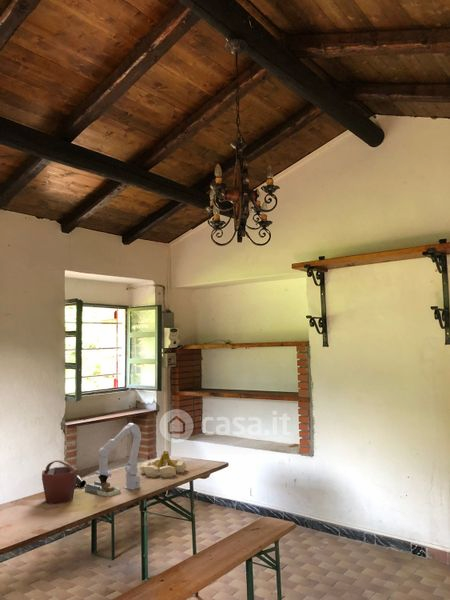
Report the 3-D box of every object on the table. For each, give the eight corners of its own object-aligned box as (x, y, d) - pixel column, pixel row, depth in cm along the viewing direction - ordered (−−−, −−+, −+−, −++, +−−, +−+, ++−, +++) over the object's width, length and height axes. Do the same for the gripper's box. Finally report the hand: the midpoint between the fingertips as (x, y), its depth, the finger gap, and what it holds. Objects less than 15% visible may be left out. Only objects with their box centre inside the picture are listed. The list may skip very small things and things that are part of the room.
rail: (109, 490, 323) (109, 483, 323) (97, 494, 315) (97, 487, 316) (96, 487, 331) (96, 480, 332) (84, 490, 323) (84, 484, 324)
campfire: (166, 480, 344) (165, 456, 346) (132, 475, 362) (131, 452, 363) (193, 469, 374) (193, 447, 376) (160, 465, 391) (160, 444, 393)
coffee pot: (80, 483, 342) (87, 486, 337) (58, 493, 327) (65, 496, 322) (80, 473, 341) (87, 476, 336) (58, 482, 327) (65, 486, 322)
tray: (120, 492, 317) (120, 488, 317) (107, 497, 308) (107, 493, 308) (109, 490, 323) (109, 486, 324) (96, 494, 315) (96, 490, 315)
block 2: (110, 491, 318) (113, 492, 315) (105, 492, 314) (109, 494, 312) (110, 485, 318) (114, 486, 315) (105, 486, 315) (109, 488, 312)
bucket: (83, 499, 304) (83, 460, 307) (50, 508, 288) (50, 467, 291) (65, 492, 321) (65, 455, 324) (33, 500, 305) (34, 461, 308)
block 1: (109, 488, 317) (110, 482, 318) (105, 490, 314) (105, 484, 314) (106, 487, 320) (106, 481, 320) (101, 488, 317) (101, 483, 317)
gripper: (92, 465, 322) (92, 486, 321) (105, 468, 313) (105, 489, 312) (100, 463, 328) (100, 483, 326) (113, 466, 319) (113, 486, 318)
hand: (103, 486), depth 319 cm, fingers closed
